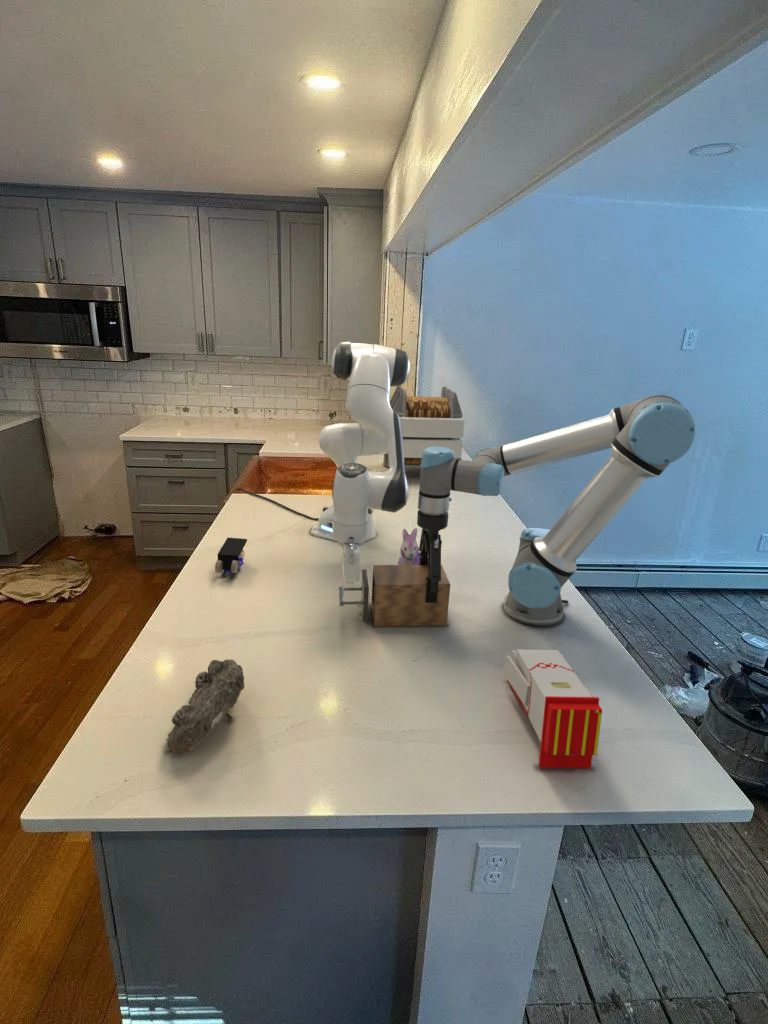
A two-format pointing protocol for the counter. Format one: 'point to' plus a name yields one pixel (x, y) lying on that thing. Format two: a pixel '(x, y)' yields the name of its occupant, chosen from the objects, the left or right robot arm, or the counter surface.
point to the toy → (556, 707)
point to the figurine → (409, 549)
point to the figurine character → (230, 556)
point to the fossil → (206, 705)
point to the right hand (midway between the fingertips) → (427, 590)
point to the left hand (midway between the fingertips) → (349, 582)
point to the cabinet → (408, 596)
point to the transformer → (427, 424)
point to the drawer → (364, 595)
